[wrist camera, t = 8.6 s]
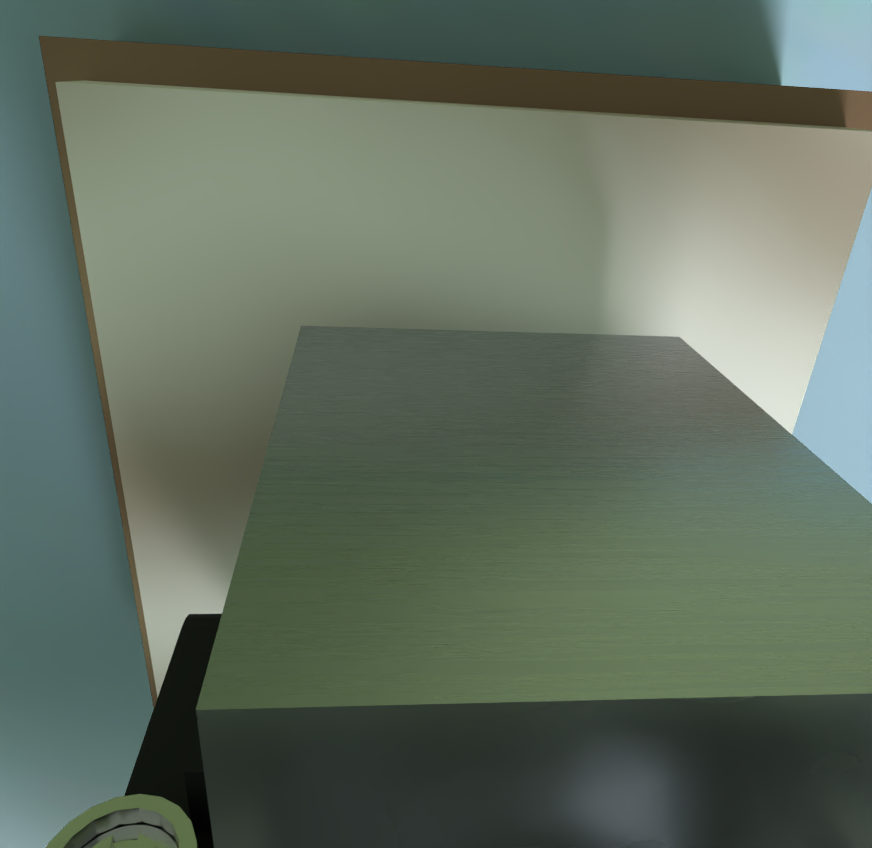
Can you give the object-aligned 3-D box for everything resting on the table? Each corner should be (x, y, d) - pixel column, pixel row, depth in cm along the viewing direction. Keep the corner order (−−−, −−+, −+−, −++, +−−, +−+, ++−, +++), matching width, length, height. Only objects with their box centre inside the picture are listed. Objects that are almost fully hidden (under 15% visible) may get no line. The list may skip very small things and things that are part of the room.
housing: (679, 335, 9) (1281, 860, 3) (586, 746, 13) (785, 1373, 7) (301, 325, 9) (137, 924, 3) (312, 755, 12) (255, 1440, 6)
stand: (640, 649, 19) (701, 779, 16) (192, 656, 18) (149, 800, 15) (782, 87, 13) (936, 95, 10) (113, 43, 12) (3, 32, 8)
